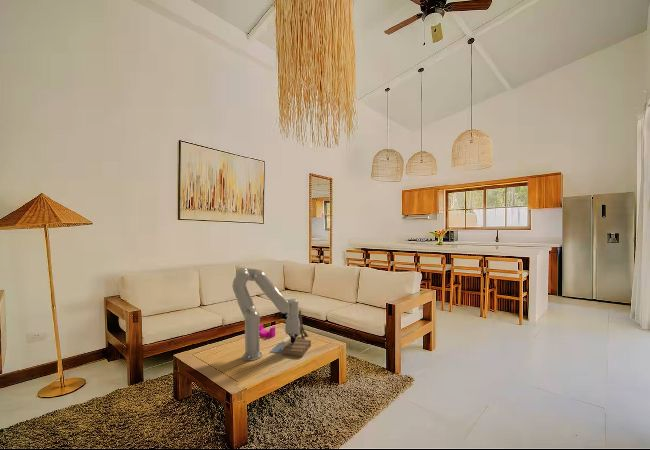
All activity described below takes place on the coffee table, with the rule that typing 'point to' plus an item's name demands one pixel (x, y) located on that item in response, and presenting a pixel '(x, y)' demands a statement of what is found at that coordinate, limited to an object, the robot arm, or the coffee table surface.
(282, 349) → the beige rectangular block
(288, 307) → the robot arm
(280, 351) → the mat
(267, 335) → the toy block
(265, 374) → the coffee table surface
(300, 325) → the eiffel tower
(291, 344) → the deck
